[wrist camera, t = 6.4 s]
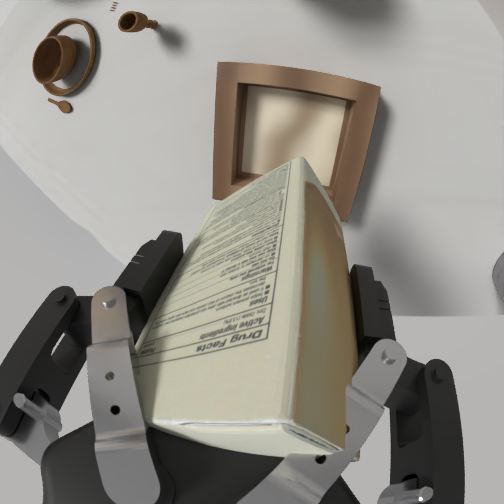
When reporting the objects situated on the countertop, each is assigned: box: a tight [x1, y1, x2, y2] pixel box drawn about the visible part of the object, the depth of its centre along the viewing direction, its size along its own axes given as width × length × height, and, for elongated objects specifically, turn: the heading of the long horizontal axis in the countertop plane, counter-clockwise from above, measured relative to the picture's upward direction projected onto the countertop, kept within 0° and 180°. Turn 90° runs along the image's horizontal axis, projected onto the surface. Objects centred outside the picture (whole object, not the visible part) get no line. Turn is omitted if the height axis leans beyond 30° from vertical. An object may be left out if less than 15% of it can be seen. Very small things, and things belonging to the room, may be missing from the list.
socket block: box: [213, 62, 381, 222], centre depth 27 cm, size 15×15×4 cm
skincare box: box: [135, 156, 360, 462], centre depth 10 cm, size 6×4×12 cm
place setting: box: [33, 2, 158, 113], centre depth 23 cm, size 18×20×6 cm
